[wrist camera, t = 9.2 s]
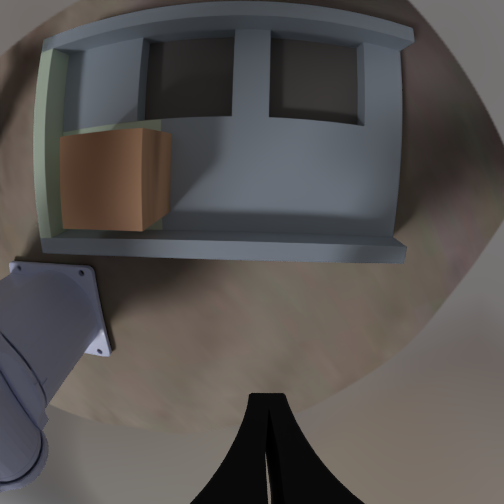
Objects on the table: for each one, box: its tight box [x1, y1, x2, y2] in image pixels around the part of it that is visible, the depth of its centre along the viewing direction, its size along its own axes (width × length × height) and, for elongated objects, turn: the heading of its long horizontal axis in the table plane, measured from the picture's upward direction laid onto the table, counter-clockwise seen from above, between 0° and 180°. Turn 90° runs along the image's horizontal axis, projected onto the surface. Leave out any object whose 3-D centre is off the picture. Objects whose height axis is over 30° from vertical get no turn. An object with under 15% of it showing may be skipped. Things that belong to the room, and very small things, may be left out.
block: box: [60, 128, 172, 231], centre depth 14 cm, size 4×4×4 cm
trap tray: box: [33, 1, 415, 264], centre depth 15 cm, size 22×14×4 cm, turn 89°
